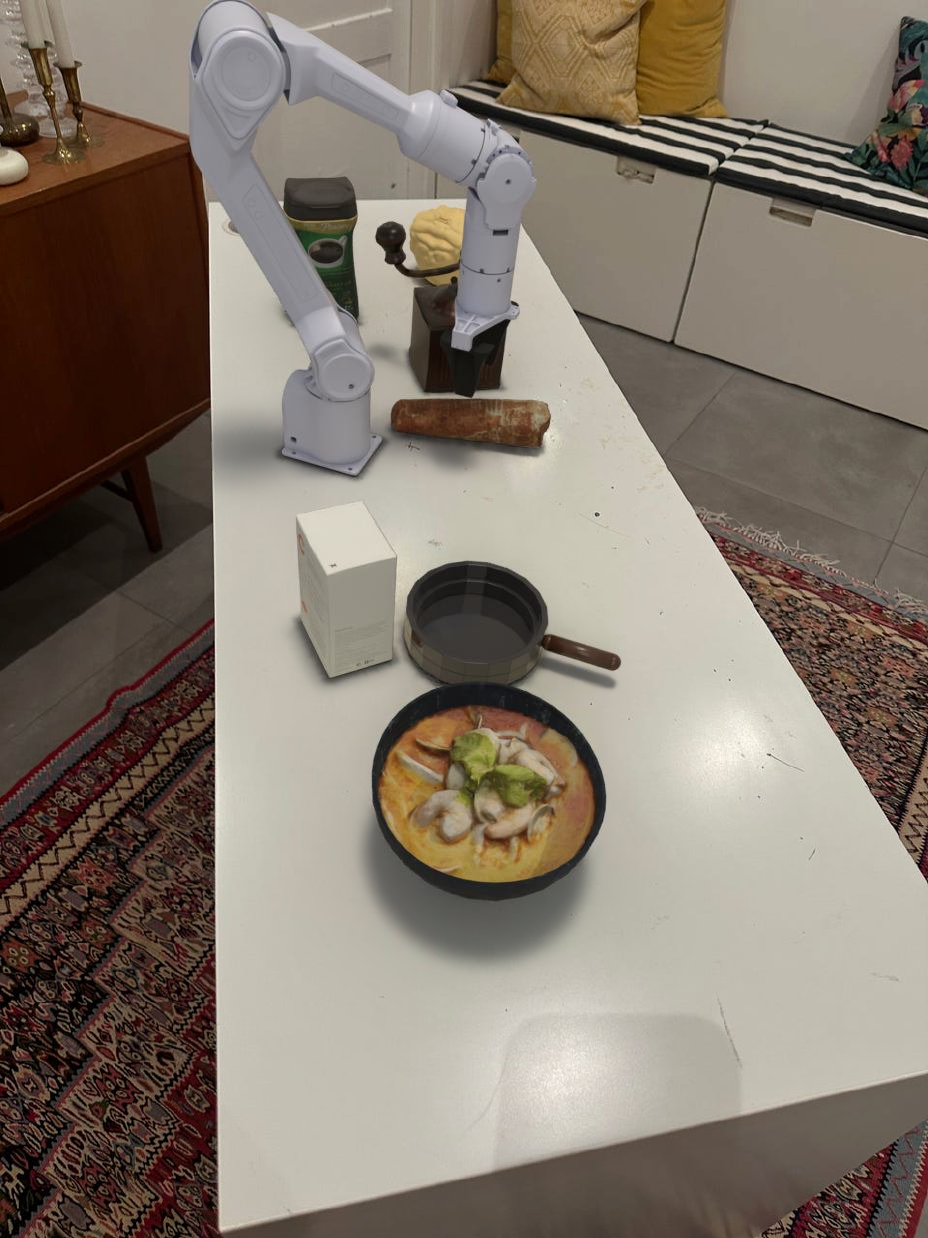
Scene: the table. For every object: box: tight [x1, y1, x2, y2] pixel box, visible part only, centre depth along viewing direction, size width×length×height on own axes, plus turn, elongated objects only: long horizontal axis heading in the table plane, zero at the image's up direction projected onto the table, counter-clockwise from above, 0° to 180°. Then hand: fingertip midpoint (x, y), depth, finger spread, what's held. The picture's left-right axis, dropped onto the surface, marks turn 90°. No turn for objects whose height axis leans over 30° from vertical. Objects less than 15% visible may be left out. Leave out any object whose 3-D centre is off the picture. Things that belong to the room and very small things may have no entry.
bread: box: [390, 397, 552, 448], centre depth 104 cm, size 6×19×6 cm, turn 86°
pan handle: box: [542, 633, 622, 672], centre depth 80 cm, size 8×2×2 cm, turn 71°
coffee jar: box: [282, 175, 360, 321], centre depth 116 cm, size 10×8×19 cm
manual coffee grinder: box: [374, 220, 508, 393], centre depth 110 cm, size 16×11×18 cm
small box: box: [295, 500, 398, 678], centre depth 77 cm, size 8×6×13 cm
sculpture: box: [409, 204, 466, 287], centre depth 131 cm, size 12×12×11 cm
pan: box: [403, 560, 549, 685], centre depth 82 cm, size 13×13×4 cm
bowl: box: [371, 681, 607, 902], centre depth 65 cm, size 17×17×10 cm
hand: (474, 378), depth 100 cm, fingers open, 7 cm apart
